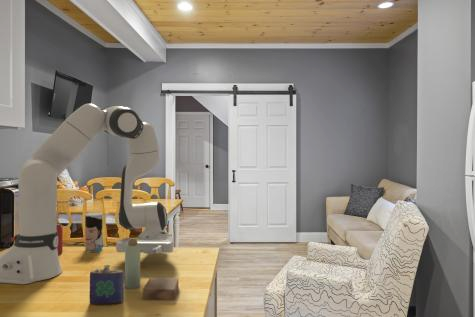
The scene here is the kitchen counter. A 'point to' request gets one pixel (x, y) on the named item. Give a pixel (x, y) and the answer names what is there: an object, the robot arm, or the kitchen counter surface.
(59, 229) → the beer can
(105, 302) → the flask
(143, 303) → the kitchen counter surface
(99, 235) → the cup
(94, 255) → the kitchen counter surface
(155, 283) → the plinth
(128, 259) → the pepper mill
